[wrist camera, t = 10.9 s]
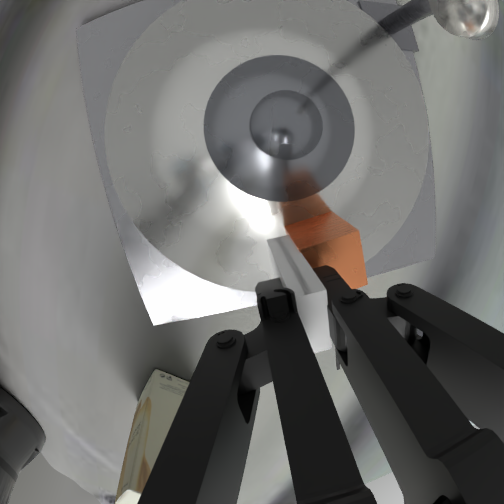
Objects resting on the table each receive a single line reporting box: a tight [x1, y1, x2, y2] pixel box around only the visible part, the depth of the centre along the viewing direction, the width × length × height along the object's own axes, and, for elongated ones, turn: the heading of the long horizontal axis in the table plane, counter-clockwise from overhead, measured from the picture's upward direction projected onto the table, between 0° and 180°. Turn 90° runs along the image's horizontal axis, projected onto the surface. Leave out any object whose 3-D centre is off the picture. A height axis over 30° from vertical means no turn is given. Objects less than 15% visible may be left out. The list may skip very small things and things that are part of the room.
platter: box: [105, 0, 429, 292], centre depth 14 cm, size 20×20×5 cm
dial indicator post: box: [358, 0, 499, 53], centre depth 9 cm, size 4×6×13 cm
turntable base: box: [76, 0, 436, 325], centre depth 17 cm, size 23×23×1 cm
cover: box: [204, 55, 355, 202], centre depth 13 cm, size 7×7×4 cm
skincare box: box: [115, 369, 190, 504], centre depth 19 cm, size 6×4×12 cm
